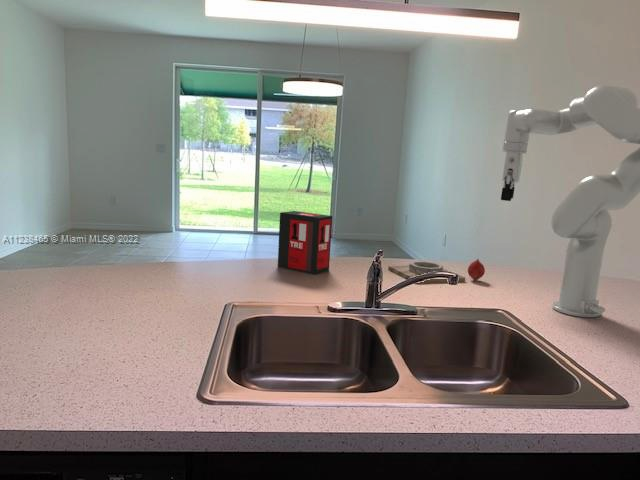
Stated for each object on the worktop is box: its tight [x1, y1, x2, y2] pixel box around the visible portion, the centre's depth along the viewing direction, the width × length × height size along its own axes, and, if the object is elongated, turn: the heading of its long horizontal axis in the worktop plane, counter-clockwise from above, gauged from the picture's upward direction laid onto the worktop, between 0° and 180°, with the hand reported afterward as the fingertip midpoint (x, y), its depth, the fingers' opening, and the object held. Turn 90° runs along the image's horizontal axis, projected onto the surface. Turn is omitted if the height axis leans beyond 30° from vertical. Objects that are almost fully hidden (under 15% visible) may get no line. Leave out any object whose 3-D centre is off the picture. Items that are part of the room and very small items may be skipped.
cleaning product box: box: [277, 210, 333, 276], centre depth 181 cm, size 16×9×20 cm, turn 58°
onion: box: [467, 258, 485, 282], centre depth 179 cm, size 6×6×8 cm
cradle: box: [387, 260, 466, 284], centre depth 183 cm, size 20×20×4 cm
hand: (506, 199), depth 171 cm, fingers open, 9 cm apart
